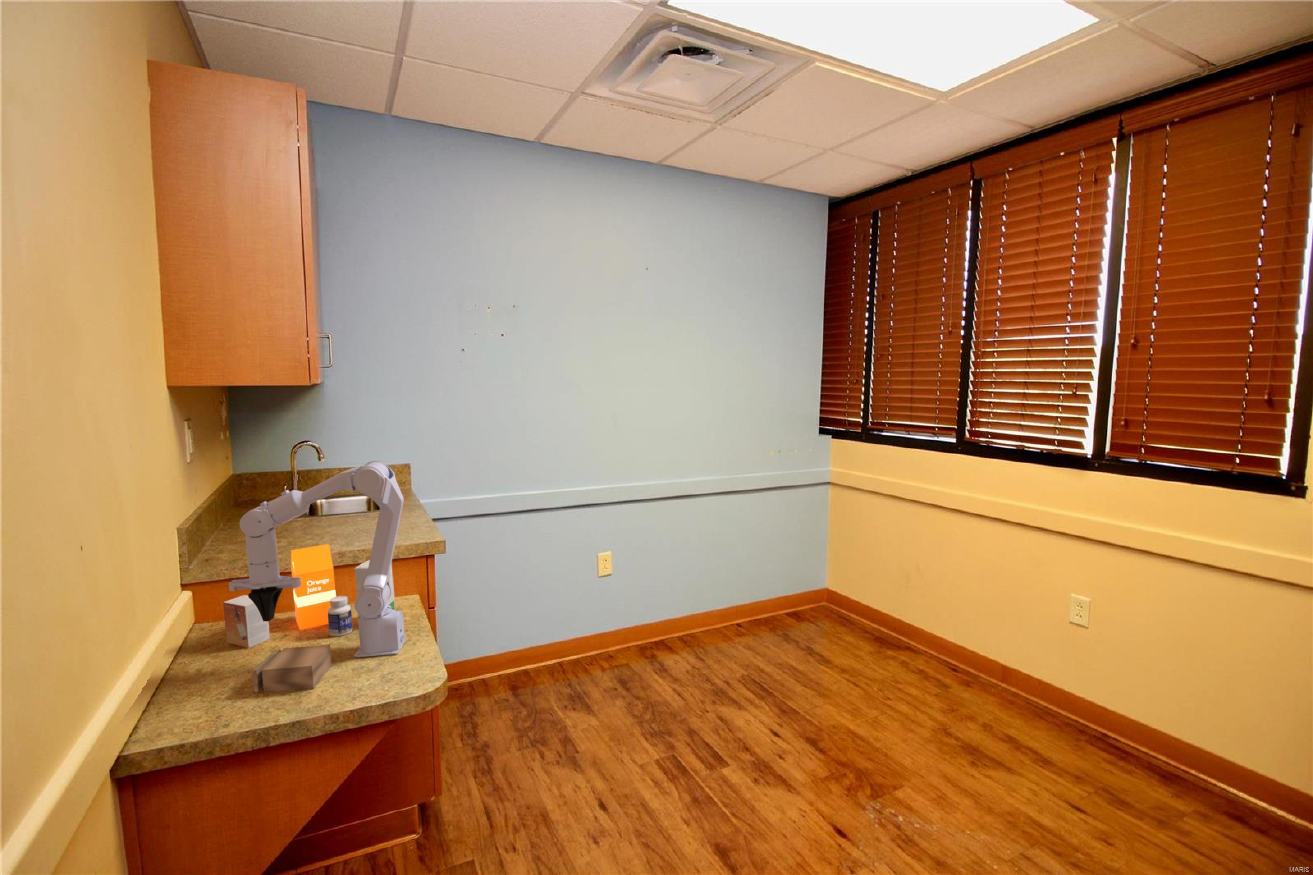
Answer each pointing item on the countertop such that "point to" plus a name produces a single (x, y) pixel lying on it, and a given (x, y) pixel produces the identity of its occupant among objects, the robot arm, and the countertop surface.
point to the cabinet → (296, 669)
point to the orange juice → (313, 585)
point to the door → (258, 671)
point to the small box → (244, 622)
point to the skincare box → (360, 578)
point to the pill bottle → (339, 616)
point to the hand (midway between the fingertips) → (268, 619)
